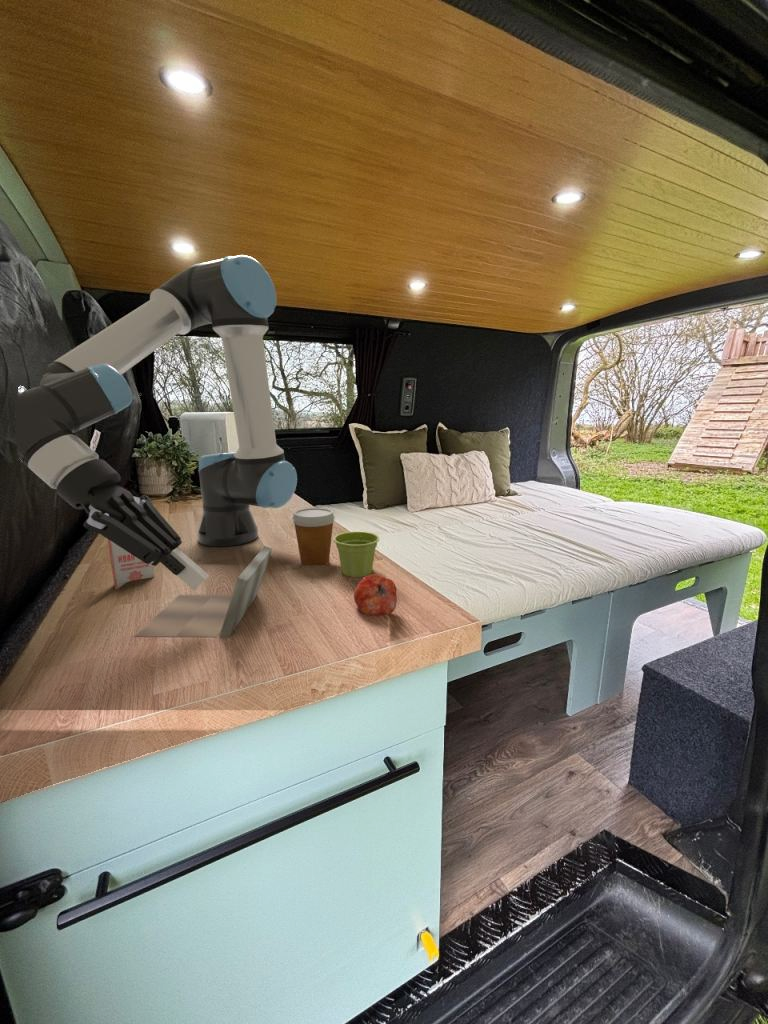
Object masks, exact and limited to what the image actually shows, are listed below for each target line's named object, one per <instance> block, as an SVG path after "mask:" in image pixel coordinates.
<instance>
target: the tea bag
mask: <svg viewBox="0 0 768 1024" xmlns="http://www.w3.org/2000/svg"><path fill="white" fill-rule="evenodd" d="M107 543H108V548H109V549H108V550H109V558H110V559H109V560H110V566H111V570H112V571H111V572H112V578H113V582H114V583H113V584H114V590H115V591H117V590H118V589H120V588H121V587H123V586H124V585H125V584H126V583H128V582H132V581H138V580H144V579H149V578H155V571H154V566H153V565H151V564H152V563H153V562H154V561H153V562H151V563H150V564H146V563H144V562H143V561H141V560H140V559H138V558H137V557H135V556H133V555H132V554H130V553H129V552H127V551H126V550H124V549H123V548H121V547H119V546H118V545H116V544H115V543H113V542H112V541H110V540H109V539H107ZM146 555H147V554H146Z"/></svg>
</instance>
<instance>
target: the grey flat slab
mask: <svg viewBox="0 0 768 1024" xmlns="http://www.w3.org/2000/svg"><path fill="white" fill-rule="evenodd" d="M272 550H273V548H271V547H269V546H265V545H264V546H262V548H261V550H259V552H258V553H257V554H256V556H255V557H254V558H252V561H250V563H249V564H248V565H247V566H246V567H245V568H244V570H243V571H241V573H240V575H239V576H237V579H236V582H235V586H234V588H233V592H232V594H231V595H232V598H231V601H230V604H229V607H228V610H227V614H226V617H225V620H224V623H223V626H222V630H221V632H220V633H219V638H230V637H231V635H232V634H233V632H234V631H235V629H236V628H237V626H238V624H239V623H240V622H241V620H242V619H243V617H244V616H245V614H246V612H247V611H248V610H249V608H250V606H251V605H252V603H253V601H255V598H256V597H257V596H258V592H259V589H260V586H261V583H262V581H263V577H264V575H265V572H266V569H267V565H268V562H269V559H270V556H271V553H272Z"/></svg>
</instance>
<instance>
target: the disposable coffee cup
mask: <svg viewBox="0 0 768 1024" xmlns="http://www.w3.org/2000/svg"><path fill="white" fill-rule="evenodd" d="M291 520H292V522H293V524H294V528H295V534H296V540H297V541H296V542H297V545H298V546H297V547H298V553H299V558H300V564H301V565H302V566H327V565H328V564H329V563H330V555H331V548H332V547H331V546H332V538H333V537H332V535H333V528H334V527H333V526H334V522H335V520H336V516H335V515H334V512H333V510H332V509H329V508H324V507H307V508H300V509H298V510H295V511H293V516H292V517H291ZM328 562H329V563H328ZM327 563H328V564H327ZM326 564H327V565H326Z"/></svg>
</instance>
